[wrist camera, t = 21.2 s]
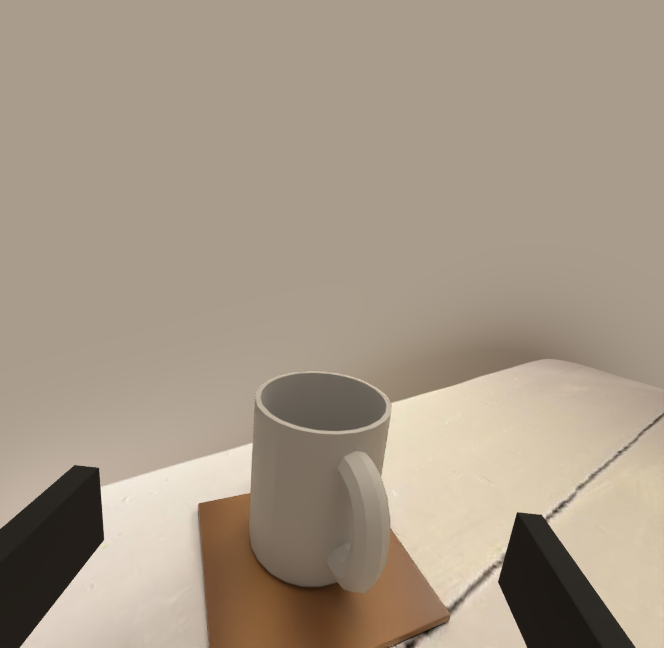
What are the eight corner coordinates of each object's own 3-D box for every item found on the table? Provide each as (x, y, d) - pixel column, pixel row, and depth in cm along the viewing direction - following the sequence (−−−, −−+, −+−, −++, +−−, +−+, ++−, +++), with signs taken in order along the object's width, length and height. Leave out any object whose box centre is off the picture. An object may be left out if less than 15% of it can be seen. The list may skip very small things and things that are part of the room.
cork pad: (215, 724, 13) (215, 716, 13) (198, 508, 23) (198, 503, 23) (449, 620, 17) (451, 614, 17) (351, 477, 27) (352, 472, 27)
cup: (336, 481, 26) (349, 367, 24) (429, 613, 17) (463, 453, 15) (236, 506, 23) (241, 376, 21) (289, 684, 14) (306, 493, 12)
